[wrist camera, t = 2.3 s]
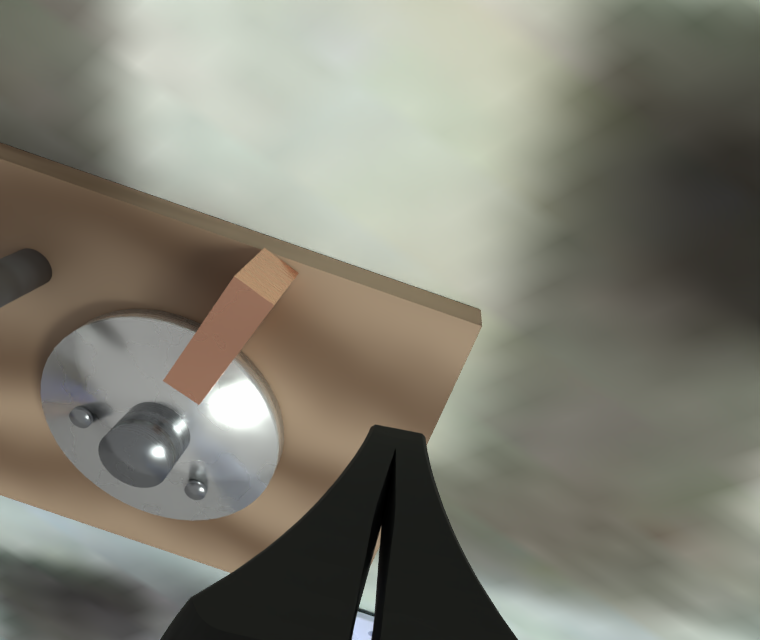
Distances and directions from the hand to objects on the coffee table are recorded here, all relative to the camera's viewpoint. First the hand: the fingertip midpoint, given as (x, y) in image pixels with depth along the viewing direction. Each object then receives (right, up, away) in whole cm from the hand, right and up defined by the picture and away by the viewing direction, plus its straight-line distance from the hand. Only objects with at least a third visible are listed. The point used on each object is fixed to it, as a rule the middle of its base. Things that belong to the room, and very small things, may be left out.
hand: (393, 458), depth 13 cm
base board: (-10, 0, +12) cm, 16 cm away
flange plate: (-9, +1, +10) cm, 13 cm away
